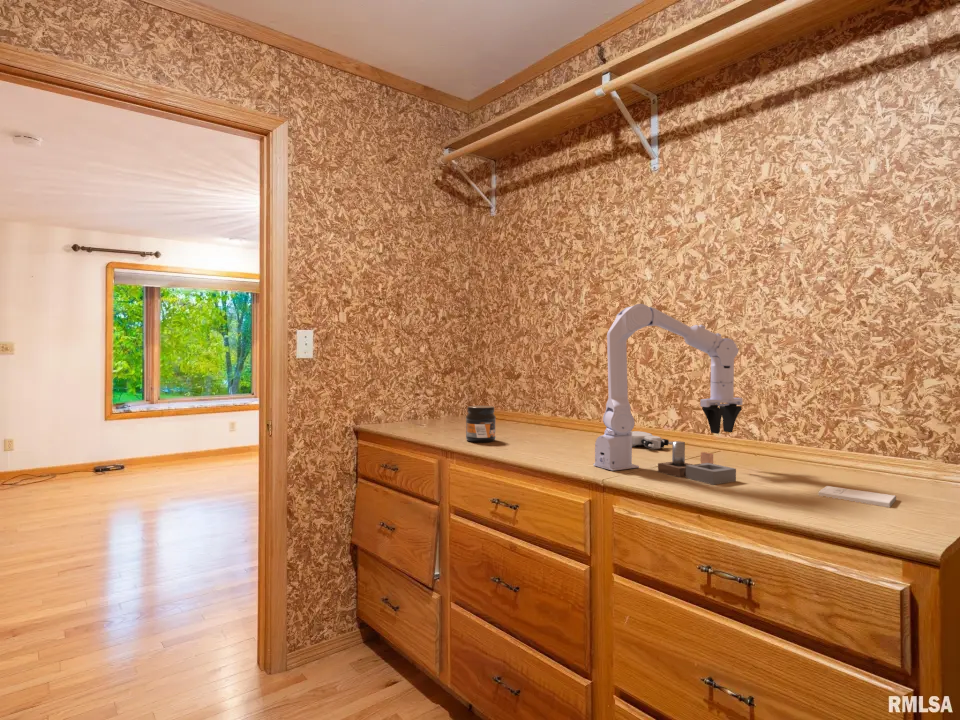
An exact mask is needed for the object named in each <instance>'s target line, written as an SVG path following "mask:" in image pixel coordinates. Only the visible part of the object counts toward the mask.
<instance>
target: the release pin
mask: <svg viewBox="0 0 960 720" xmlns="http://www.w3.org/2000/svg"><path fill="white" fill-rule="evenodd" d="M702 463H711V464H714V453H711V452H705V451H702V452H700V464H702Z"/></svg>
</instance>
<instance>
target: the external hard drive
mask: <svg viewBox="0 0 960 720" xmlns="http://www.w3.org/2000/svg"><path fill="white" fill-rule="evenodd" d="M818 495H819V496H818ZM817 496H818V497H823V496H826V497H825V498H829V497H832V498H831V499H835V498H838V499H837V500H841V499H844V500H843V501H847V500H849V501H848V502H853V501H855V503H859V502H861V503H860V504H865V503H866V504H865V505H871V504H872V506H877V505H878V507H884V508H892V505H893V504H894V503H895V502H896V501H897V496H896V495H895V494H887V493H879V492H873V491H867V490H859V489H852V488H844V487H839V486H838V487H837V486H831V485H826V486H825V487H823V488H821V489H819V491H818V493H817Z"/></svg>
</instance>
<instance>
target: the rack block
mask: <svg viewBox="0 0 960 720" xmlns="http://www.w3.org/2000/svg"><path fill="white" fill-rule="evenodd" d="M685 478H686V479H690V480H693V481H696V482H697V481H698V482H701V483H704V484H710V485H712V486H714V485H720V484H727V483H734V482H736V481H737V468H734V467H730V466H726V465H725V466H724V465H720V464H715V463H713V464H711V463H702V464H701V463H697V464H693V465H687V466H686V476H685Z"/></svg>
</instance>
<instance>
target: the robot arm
mask: <svg viewBox="0 0 960 720" xmlns="http://www.w3.org/2000/svg"><path fill="white" fill-rule="evenodd" d="M646 327H658V328H661V329H663V330H666V331H668V332H670V333H672V334H675V335H678V336H680V337H682V338H683V339H684V343H685V345H688V346H690V347H692V348H695V349H696V350H699V351H701V352H703V353H705V354H707V355H708V357H709V358H710V397H709V398H702V399H700V407H701V410H702V411H703V413H704V414H705V417H706V419H707V422H708V425H709V430H710V433H711V434H720V431H721V422H722V428H723V432H725V433H733V430H734V428H735V427H734V426H735V424H736V420H737V418H738V416H739V415H740V413H741V411H742V406H743V400H744V399H743V397H735V396H734V395H735V394H734V393H735V391H734V390H735V389H734V388H735V383H734V379H735V378H734V377H735V358H736V357H737V355H738V353H739V348H738V346H737V343H736V342H735V341H734V340H733V339H731V338H729V337H723V338H722V334H721V333H720V332H719V333H718V332H717V333H715V332H712V331H710V330H709V329H706V326H705V325H703V324H699V325H698V324H693V325H692V326H689V325H688V324H686V323H683V322H682V321H680V320H678V319H676V318H674V317H672V316H671V315H668V314H666V313H665V312H662V311H660V310H659V309H657V308H655V307H652V306H648V305H646V304H644V303H636V304H634V305H632V306H627V307H624V308H623V309H622V310H621V311H619V312H617V314H616V317H615V319H614V321H613V323H611V326H610V327H609V329H608V331H607V334H606V343H607V344H606V345H607V346H606V347H607V348H606V350H607V352H606V353H607V356H606V357H607V389H608V392H607V393H608V394H607V395H608V396H607V397H608V398H607V401H606V403H605V411H604V413H603V417H602V422H603V424H604V425H605V430H604V434H603V435H599V436H597V438H596V439H595V444H594V445H595V447H594V453H595V454H594V463H593V464H592V465H593V466H594V467H598V468H602V469H605V470H609V471H611V472H613V471H620V470H629V469H636V468H640V466H639V465H637V464H635V463H632V462H633V447H632V432H631V431H633V429H634V427H635V418H634V416H633V414H632V412H631V409H632V408H631V404H630V402H629V398H628V397H629V394H628V393H629V392H628V391H629V389H628V388H629V387H628V357H627V356H628V355H627V353H628V352H627V340H628V339H629V338H630V337H632V335H633V334H635V332H637V331H640V330H641V329H644V328H646Z"/></svg>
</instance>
